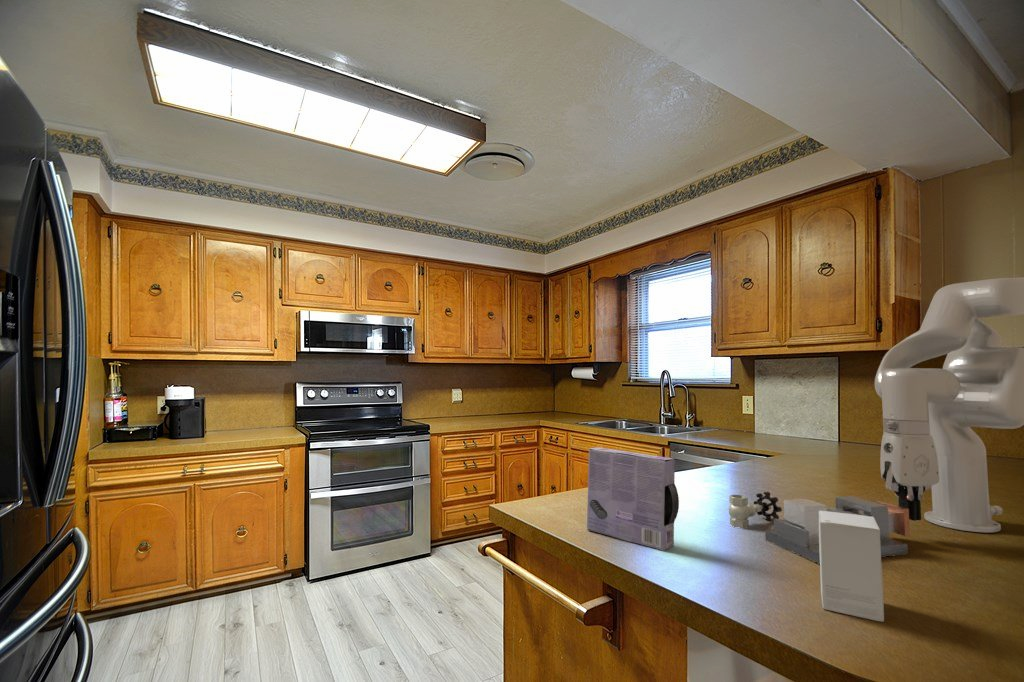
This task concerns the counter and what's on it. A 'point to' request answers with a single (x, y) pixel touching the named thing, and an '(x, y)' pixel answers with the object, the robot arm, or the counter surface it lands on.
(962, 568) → the counter surface
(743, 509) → the valve
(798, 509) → the block
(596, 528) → the cake pan box
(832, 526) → the supplement box
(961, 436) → the robot arm
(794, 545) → the press bed
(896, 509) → the ram
